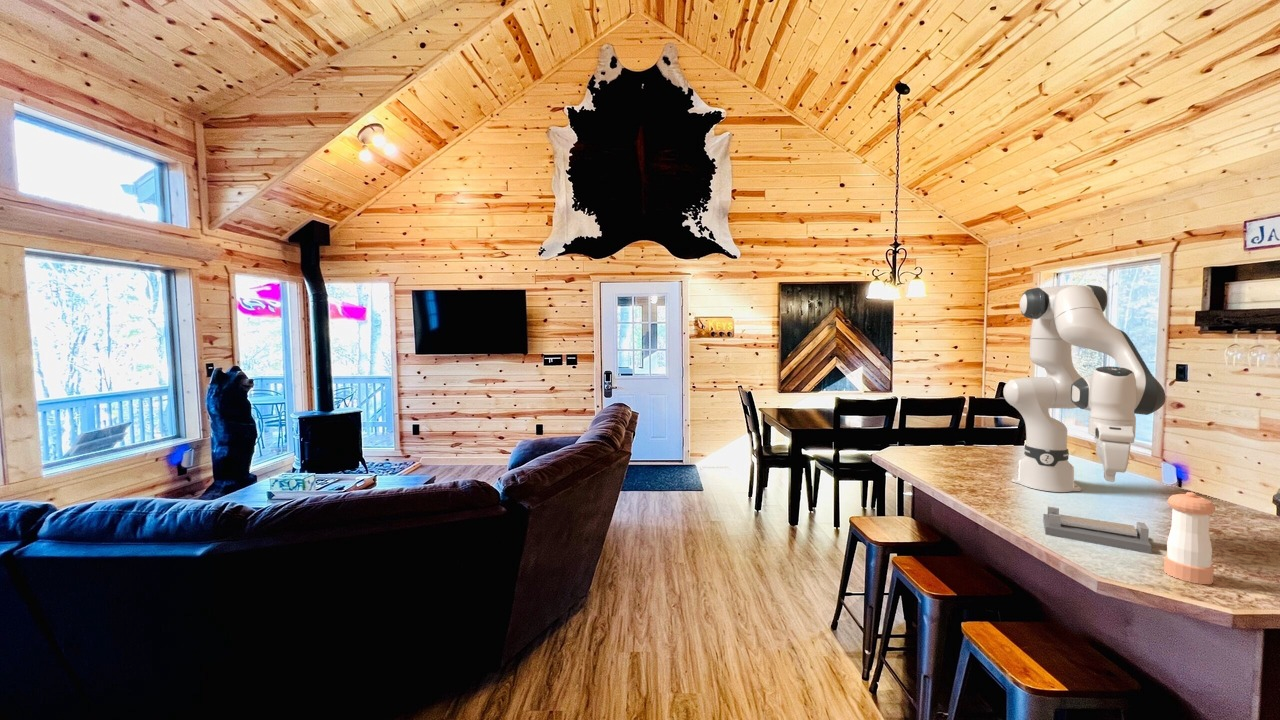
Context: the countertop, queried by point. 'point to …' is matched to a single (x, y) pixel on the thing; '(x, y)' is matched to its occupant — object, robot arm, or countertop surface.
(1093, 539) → the clamp board
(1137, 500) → the countertop surface
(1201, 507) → the pepper shaker
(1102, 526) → the clamp lever
